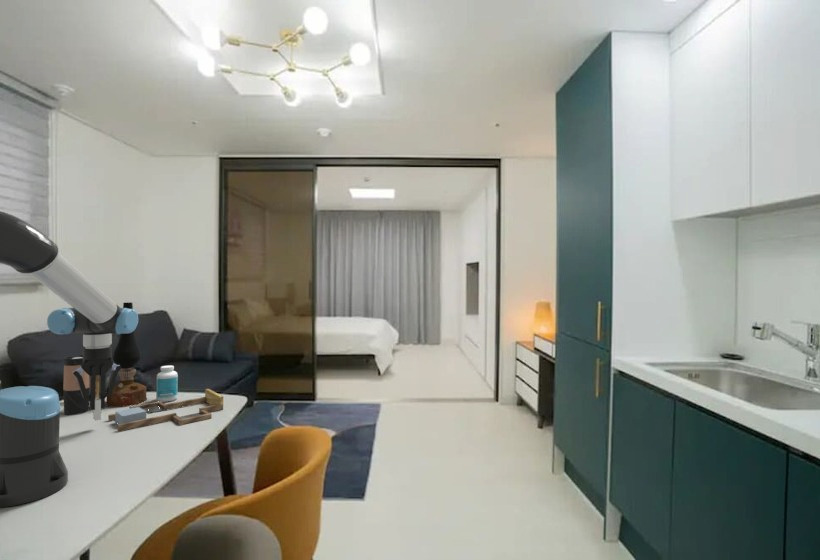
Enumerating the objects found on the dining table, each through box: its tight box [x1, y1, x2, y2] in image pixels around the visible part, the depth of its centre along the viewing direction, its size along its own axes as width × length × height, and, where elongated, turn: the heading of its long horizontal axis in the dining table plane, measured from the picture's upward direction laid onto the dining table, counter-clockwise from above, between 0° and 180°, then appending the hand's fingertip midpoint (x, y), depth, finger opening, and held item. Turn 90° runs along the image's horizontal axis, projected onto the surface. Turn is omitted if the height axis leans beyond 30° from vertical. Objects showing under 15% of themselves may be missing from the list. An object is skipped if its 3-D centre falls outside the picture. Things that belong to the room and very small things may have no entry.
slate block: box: [114, 407, 147, 425], centre depth 144 cm, size 7×7×4 cm
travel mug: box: [62, 354, 90, 416], centre depth 154 cm, size 8×8×20 cm
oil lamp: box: [105, 302, 148, 408], centre depth 168 cm, size 14×15×40 cm
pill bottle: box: [155, 365, 179, 403], centre depth 170 cm, size 8×7×14 cm
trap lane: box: [107, 388, 224, 432], centre depth 152 cm, size 33×28×5 cm
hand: (97, 418), depth 137 cm, fingers closed
